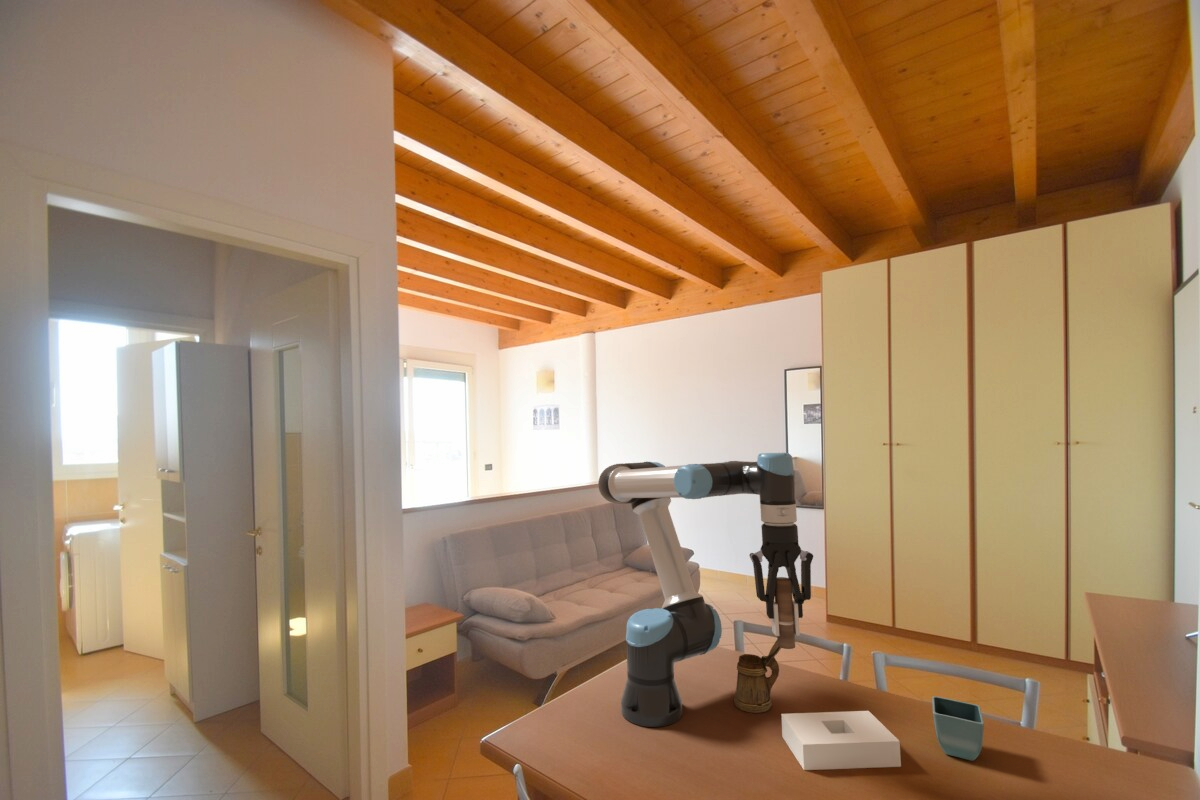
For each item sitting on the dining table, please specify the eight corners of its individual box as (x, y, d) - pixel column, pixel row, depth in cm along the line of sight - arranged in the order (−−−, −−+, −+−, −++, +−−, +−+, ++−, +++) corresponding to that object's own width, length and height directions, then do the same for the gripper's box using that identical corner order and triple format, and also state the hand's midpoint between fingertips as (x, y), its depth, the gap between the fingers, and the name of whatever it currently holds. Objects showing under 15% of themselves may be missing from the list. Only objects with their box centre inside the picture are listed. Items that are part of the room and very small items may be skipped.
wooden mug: (791, 718, 127) (787, 641, 129) (733, 710, 132) (730, 635, 133) (789, 700, 136) (786, 628, 137) (735, 693, 140) (732, 623, 141)
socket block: (782, 736, 120) (781, 713, 120) (869, 733, 120) (868, 710, 121) (804, 770, 108) (802, 744, 108) (901, 766, 108) (899, 741, 109)
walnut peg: (775, 642, 116) (771, 577, 117) (792, 642, 116) (788, 576, 117) (780, 649, 113) (776, 581, 114) (797, 648, 113) (793, 581, 114)
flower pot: (982, 747, 114) (979, 704, 115) (987, 770, 107) (984, 723, 107) (934, 736, 119) (931, 695, 119) (935, 757, 111) (932, 713, 112)
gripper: (745, 526, 113) (751, 640, 111) (824, 524, 113) (831, 638, 111) (737, 521, 121) (742, 628, 119) (810, 519, 120) (817, 626, 118)
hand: (785, 633), depth 115 cm, fingers closed on walnut peg, 4 cm apart
